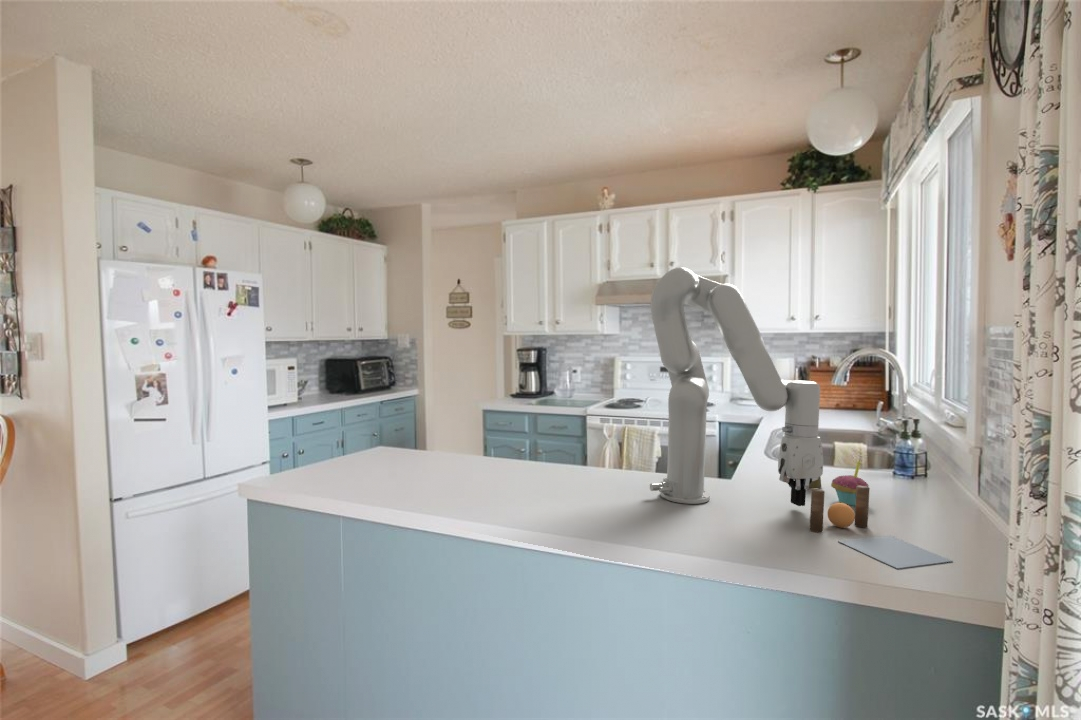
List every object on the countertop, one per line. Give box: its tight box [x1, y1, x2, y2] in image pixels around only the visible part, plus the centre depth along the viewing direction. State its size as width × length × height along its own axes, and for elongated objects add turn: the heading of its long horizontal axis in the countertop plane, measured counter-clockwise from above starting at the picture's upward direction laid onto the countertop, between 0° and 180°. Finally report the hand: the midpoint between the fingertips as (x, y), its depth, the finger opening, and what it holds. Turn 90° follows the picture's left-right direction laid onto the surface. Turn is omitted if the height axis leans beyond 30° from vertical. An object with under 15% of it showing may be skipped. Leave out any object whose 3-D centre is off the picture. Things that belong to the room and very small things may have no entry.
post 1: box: [809, 488, 825, 533], centre depth 127 cm, size 3×3×9 cm
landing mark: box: [838, 535, 954, 570], centre depth 116 cm, size 14×14×1 cm
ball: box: [827, 502, 855, 529], centre depth 130 cm, size 6×6×6 cm
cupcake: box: [830, 458, 870, 506], centre depth 148 cm, size 9×8×12 cm
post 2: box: [854, 486, 871, 529], centre depth 131 cm, size 3×3×9 cm
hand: (797, 504), depth 142 cm, fingers closed
